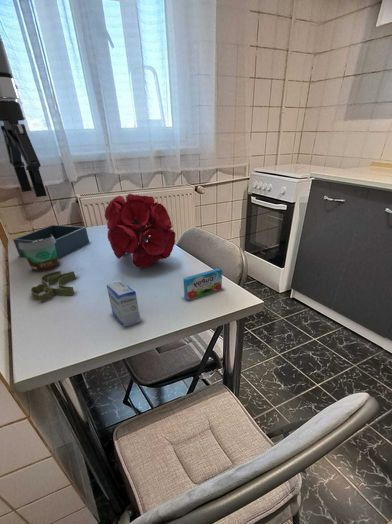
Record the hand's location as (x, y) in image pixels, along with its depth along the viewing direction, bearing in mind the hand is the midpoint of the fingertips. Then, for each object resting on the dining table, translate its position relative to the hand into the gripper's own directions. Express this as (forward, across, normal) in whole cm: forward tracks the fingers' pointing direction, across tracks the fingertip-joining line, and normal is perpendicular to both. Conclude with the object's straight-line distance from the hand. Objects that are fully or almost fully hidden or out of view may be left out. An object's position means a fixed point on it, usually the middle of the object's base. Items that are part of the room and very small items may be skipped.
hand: (34, 193), depth 88 cm
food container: (+24, +5, +2) cm, 25 cm away
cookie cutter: (+24, -13, +6) cm, 28 cm away
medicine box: (+24, -45, 0) cm, 51 cm away
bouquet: (+24, -14, -25) cm, 38 cm away
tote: (+24, +25, -8) cm, 35 cm away
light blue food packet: (+24, -49, -24) cm, 60 cm away
